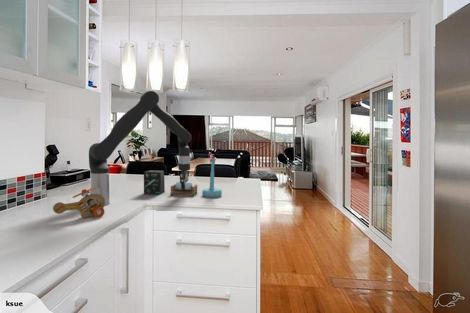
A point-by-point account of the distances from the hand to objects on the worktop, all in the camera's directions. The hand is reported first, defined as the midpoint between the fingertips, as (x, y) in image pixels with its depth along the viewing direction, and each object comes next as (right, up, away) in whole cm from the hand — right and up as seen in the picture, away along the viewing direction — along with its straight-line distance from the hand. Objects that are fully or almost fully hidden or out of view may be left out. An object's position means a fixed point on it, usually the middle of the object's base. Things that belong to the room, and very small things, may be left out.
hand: (184, 188), depth 186 cm
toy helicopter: (-36, -7, -57) cm, 67 cm away
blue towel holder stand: (+18, -5, -2) cm, 19 cm away
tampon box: (-20, -4, +3) cm, 21 cm away
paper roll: (0, +2, 0) cm, 2 cm away
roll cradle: (0, -4, 0) cm, 4 cm away
